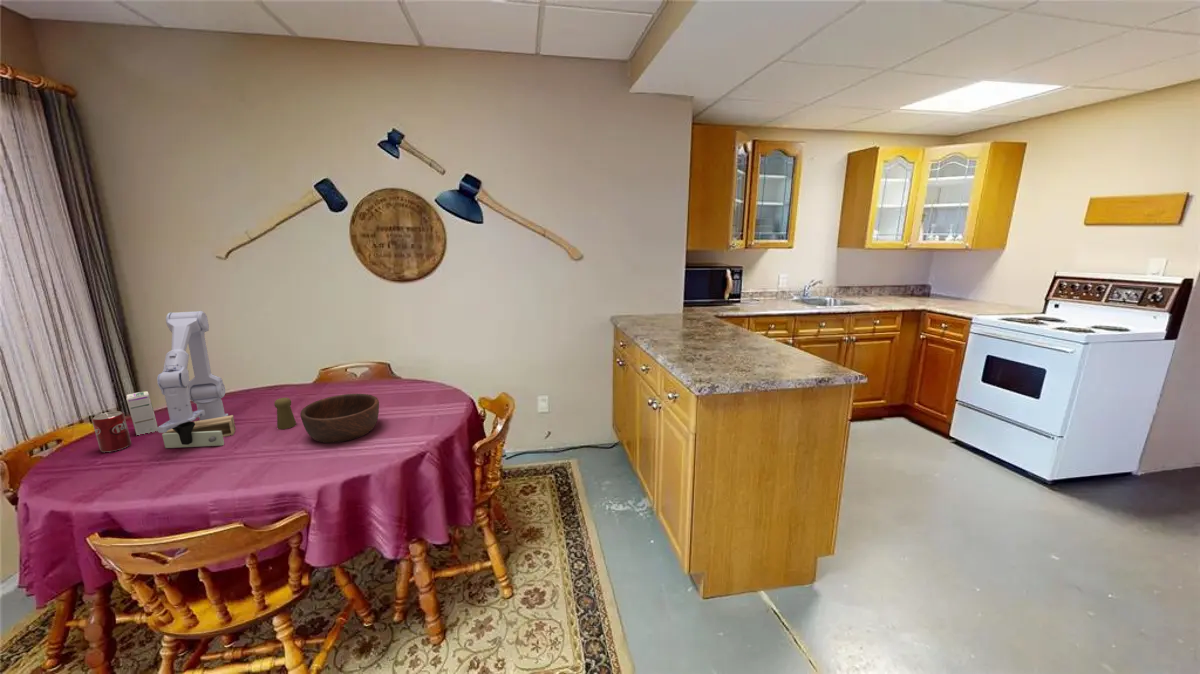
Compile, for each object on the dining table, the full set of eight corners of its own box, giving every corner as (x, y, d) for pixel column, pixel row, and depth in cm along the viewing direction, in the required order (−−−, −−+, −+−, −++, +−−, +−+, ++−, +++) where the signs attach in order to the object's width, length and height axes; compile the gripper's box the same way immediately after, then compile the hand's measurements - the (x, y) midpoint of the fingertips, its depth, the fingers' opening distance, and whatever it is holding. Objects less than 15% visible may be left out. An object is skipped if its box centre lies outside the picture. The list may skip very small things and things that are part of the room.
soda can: (96, 455, 147) (86, 421, 144) (106, 445, 153) (98, 413, 150) (126, 450, 150) (117, 417, 147) (135, 441, 156) (127, 409, 153)
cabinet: (170, 440, 157) (167, 425, 156) (235, 428, 167) (233, 415, 165) (166, 447, 152) (162, 432, 151) (233, 434, 162) (230, 420, 161)
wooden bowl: (295, 431, 165) (291, 405, 163) (366, 412, 183) (363, 388, 181) (316, 454, 149) (312, 426, 146) (392, 431, 167) (389, 405, 164)
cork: (286, 430, 166) (281, 402, 163) (273, 428, 167) (268, 401, 165) (300, 423, 172) (295, 396, 169) (287, 422, 173) (282, 395, 170)
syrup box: (158, 431, 164) (149, 394, 161) (135, 436, 160) (126, 398, 156) (157, 426, 168) (148, 390, 164) (135, 431, 164) (125, 394, 160)
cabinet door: (167, 446, 152) (164, 433, 151) (224, 443, 154) (221, 430, 153) (162, 449, 150) (159, 436, 149) (220, 446, 152) (217, 433, 151)
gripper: (169, 414, 141) (178, 454, 144) (210, 398, 155) (217, 434, 158) (147, 414, 141) (157, 453, 144) (190, 397, 155) (198, 433, 158)
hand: (187, 443), depth 151 cm, fingers closed, pressing on cabinet door
